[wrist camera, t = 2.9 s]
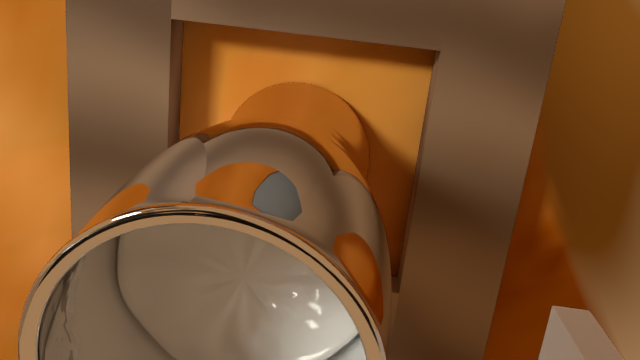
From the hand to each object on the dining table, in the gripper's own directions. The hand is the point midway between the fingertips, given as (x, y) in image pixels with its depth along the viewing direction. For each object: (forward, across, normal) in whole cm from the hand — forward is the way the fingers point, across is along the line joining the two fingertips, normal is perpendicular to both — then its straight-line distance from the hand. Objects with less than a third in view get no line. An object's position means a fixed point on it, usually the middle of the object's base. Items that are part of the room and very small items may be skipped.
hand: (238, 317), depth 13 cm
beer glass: (+13, 0, 0) cm, 13 cm away
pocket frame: (+12, 0, 0) cm, 12 cm away
